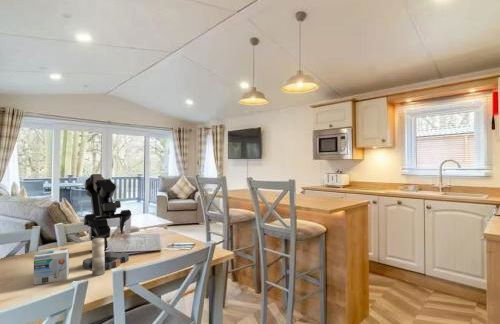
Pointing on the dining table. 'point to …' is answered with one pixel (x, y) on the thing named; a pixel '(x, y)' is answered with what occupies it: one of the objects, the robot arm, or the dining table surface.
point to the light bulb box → (51, 266)
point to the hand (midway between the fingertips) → (110, 234)
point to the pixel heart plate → (109, 260)
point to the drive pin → (98, 257)
